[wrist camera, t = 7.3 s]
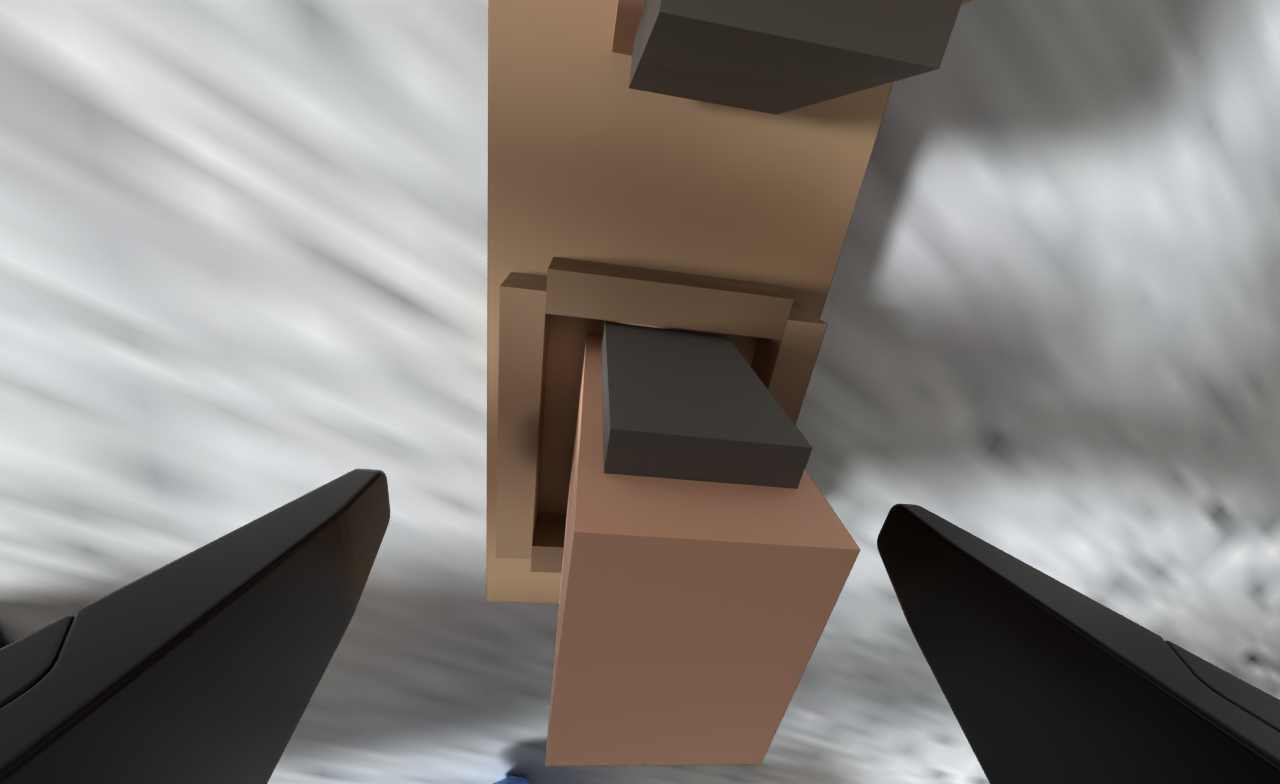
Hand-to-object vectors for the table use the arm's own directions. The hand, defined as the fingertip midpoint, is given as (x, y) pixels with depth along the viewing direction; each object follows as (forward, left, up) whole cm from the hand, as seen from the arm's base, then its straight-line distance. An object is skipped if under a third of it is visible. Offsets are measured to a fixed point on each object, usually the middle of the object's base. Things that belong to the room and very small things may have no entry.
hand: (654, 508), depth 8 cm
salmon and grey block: (0, 0, -3) cm, 3 cm away
